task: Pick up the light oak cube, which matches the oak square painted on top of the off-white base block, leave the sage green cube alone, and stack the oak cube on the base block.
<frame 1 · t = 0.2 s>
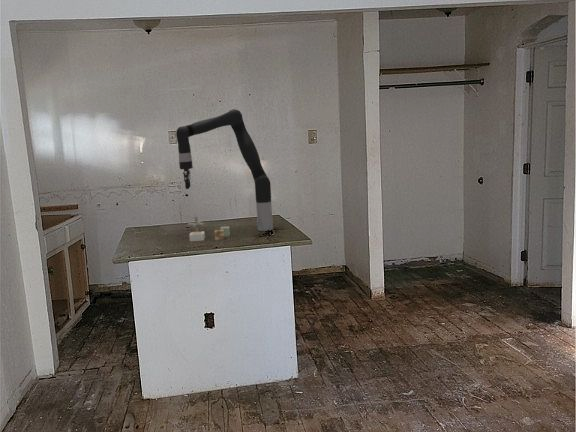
hand: (188, 188, 306), 29 cm above the table, tool pointing down, fingers open, 8 cm apart
sage block: (225, 235, 305), on the table
white base: (197, 239, 299), on the table
oak block: (219, 239, 297), on the table
pipe connector: (197, 232, 318), on the table
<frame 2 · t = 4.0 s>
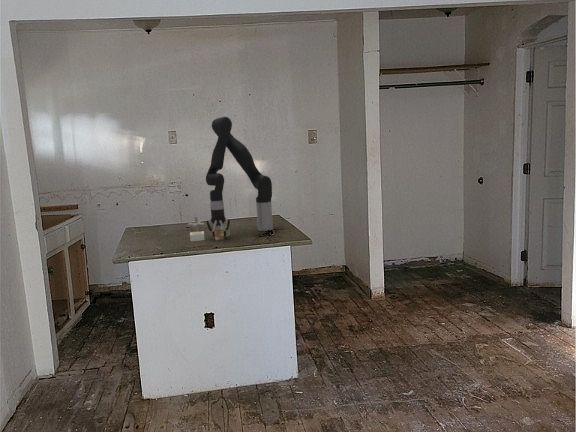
hand: (219, 237, 297), 1 cm above the table, tool pointing down, fingers closed on oak block, 5 cm apart
oak block: (219, 238, 297), on the table, touching gripper
everything else where it was.
when the fingers open (7 cm above the table, at t = 9.6 s): oak block drops 2 cm, resting on white base.
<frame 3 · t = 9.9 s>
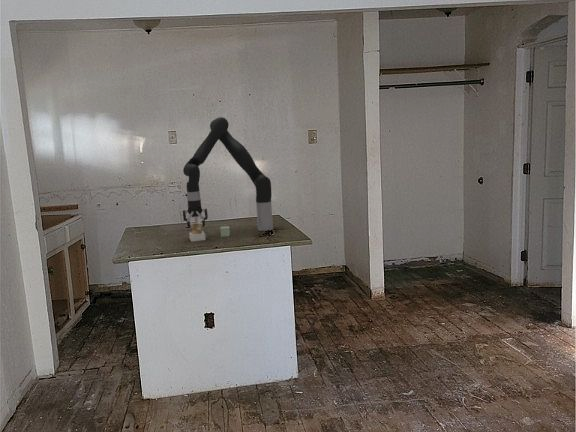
hand: (196, 227, 297), 7 cm above the table, tool pointing down, fingers open, 7 cm apart
white base: (197, 239, 299), on the table, touching oak block
oak block: (196, 232, 298), point 4 cm above the table, touching white base
everything else where it was.
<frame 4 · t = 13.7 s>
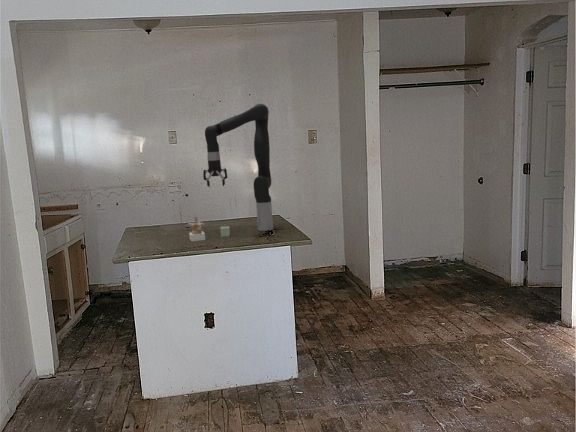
hand: (216, 186, 312), 28 cm above the table, tool pointing down, fingers open, 8 cm apart
white base: (197, 239, 299), on the table
oak block: (196, 232, 298), point 4 cm above the table
everything else where it was.
at the end: oak block 0.2 cm off-centre on the white base, point 4.2 cm above the white base's base; oak block tilted 1°; sage block moved 0.1 cm from its start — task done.
